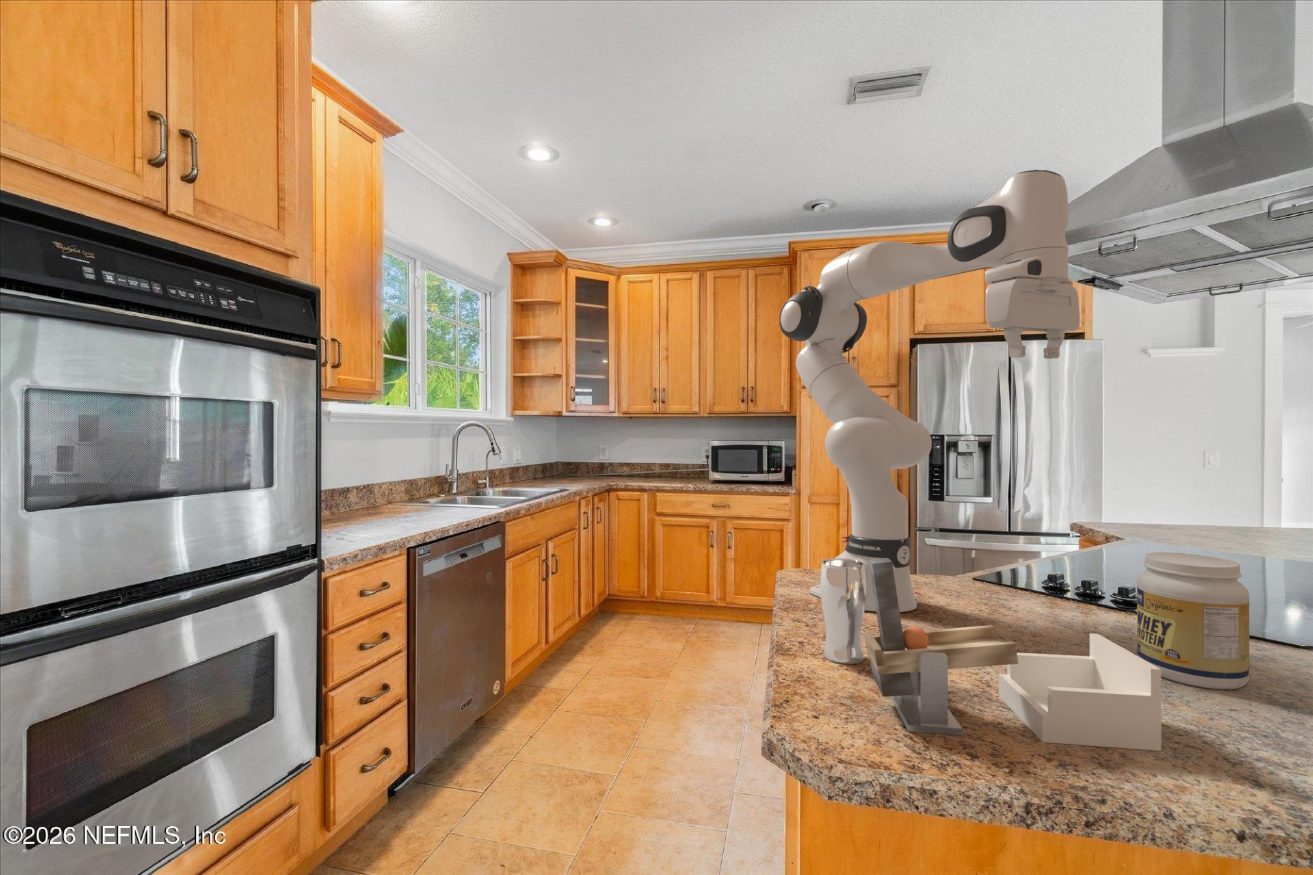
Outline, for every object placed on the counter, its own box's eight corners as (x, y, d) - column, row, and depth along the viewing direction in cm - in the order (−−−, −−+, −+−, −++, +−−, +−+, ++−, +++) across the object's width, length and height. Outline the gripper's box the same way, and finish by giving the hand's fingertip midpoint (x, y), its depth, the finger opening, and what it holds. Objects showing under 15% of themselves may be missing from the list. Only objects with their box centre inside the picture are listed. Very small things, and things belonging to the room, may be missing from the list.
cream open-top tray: (1042, 741, 67) (1042, 662, 67) (999, 696, 79) (998, 629, 79) (1161, 750, 65) (1160, 669, 65) (1098, 702, 77) (1098, 633, 77)
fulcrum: (908, 731, 69) (907, 655, 69) (886, 689, 81) (885, 624, 81) (962, 735, 68) (962, 658, 68) (932, 692, 80) (932, 626, 80)
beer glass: (834, 645, 98) (833, 556, 98) (874, 656, 93) (873, 562, 93) (812, 656, 93) (811, 562, 93) (853, 668, 88) (853, 569, 88)
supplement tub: (1117, 657, 93) (1117, 549, 93) (1201, 660, 91) (1200, 551, 91) (1178, 690, 80) (1177, 566, 80) (1276, 694, 79) (1275, 568, 79)
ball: (900, 654, 75) (893, 630, 75) (915, 645, 77) (908, 621, 77) (921, 658, 73) (914, 633, 73) (937, 648, 74) (930, 623, 74)
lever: (882, 700, 72) (863, 569, 72) (870, 674, 79) (852, 556, 80) (1024, 690, 69) (1003, 555, 69) (996, 664, 77) (977, 543, 77)
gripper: (1051, 281, 103) (1051, 360, 104) (977, 271, 94) (977, 358, 94) (1091, 274, 98) (1091, 357, 98) (1017, 262, 88) (1016, 354, 89)
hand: (1034, 358), depth 96 cm, fingers open, 8 cm apart
